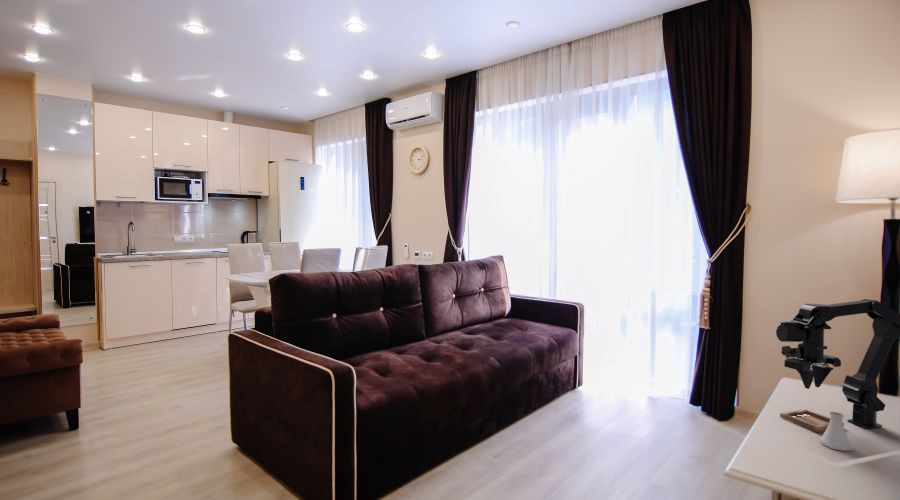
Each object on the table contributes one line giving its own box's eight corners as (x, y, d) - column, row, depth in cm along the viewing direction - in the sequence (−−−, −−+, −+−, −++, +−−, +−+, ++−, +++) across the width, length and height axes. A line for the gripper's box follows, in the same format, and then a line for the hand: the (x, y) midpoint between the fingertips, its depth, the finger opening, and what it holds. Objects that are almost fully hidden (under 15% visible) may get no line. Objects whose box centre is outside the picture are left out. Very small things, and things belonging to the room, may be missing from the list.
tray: (805, 415, 159) (805, 409, 159) (843, 428, 147) (843, 422, 147) (780, 419, 156) (780, 413, 156) (817, 433, 144) (817, 427, 144)
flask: (858, 452, 131) (858, 419, 131) (830, 450, 132) (831, 417, 132) (841, 441, 138) (841, 409, 138) (814, 440, 139) (815, 408, 139)
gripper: (807, 335, 161) (806, 378, 161) (768, 338, 155) (768, 383, 156) (842, 341, 150) (841, 387, 151) (802, 346, 145) (801, 393, 145)
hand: (812, 387), depth 151 cm, fingers open, 4 cm apart
